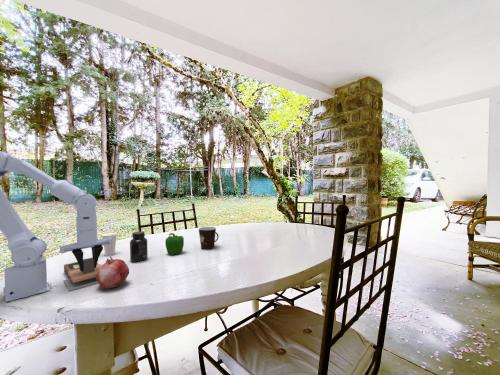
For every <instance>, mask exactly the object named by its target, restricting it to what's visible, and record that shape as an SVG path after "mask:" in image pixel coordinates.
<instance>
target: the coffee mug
mask: <svg viewBox="0 0 500 375" xmlns="http://www.w3.org/2000/svg"><path fill="white" fill-rule="evenodd" d="M216 230H217V227H215V226H203V227H199V228H198V234H199V241H200V249H201V250H204V251H208V250H209V251H210V250H213V249H214V248H215V243H216V242H217V241H218V239H219V237H220V236H219V233H218V232H216ZM216 236H217V237H216Z"/></svg>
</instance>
